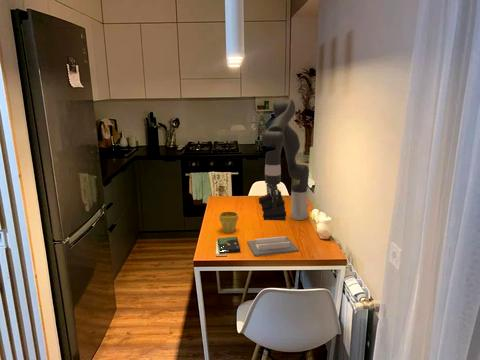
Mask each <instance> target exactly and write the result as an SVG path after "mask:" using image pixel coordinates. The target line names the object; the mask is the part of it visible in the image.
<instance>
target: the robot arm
mask: <svg viewBox="0 0 480 360" xmlns="http://www.w3.org/2000/svg"><path fill="white" fill-rule="evenodd" d="M272 108H273V114H274V117H275V118H274V119H273V120H272V121H271V124H270V126H269V127H268V128H267V129H265V130H264V131H263V133H262V136H261V138H260V139H261V144H262V145H263V146H265V147H272V148H273V147H275V149H274V150H270V151H266V153H265V165H264V183H265V185H266V186H265V187H266V195H267V194H269V193H270V197H271V198H272V209H276V208H277V201H278V200H279V191H280V189H279V188H278V185H279V184H281V182H282V181H281V178H282V177H281V176H282V171H281V170H282V169H281V154H282V149H283V150H284V153H285V154H284V155H285V158H286V163H287V169H288V175H289V177H290V178H291V179H293V180H299V183H296V184H293V185H292V186H291V193H290V194H291V195H290V197H291V198H290V199H291V201H290V205H291V206H290V218H291V220H295V221H303V220H307V219H308V209H309V206H308V205H309V204H308V201H307V200H308V197H307V196H308V186H309V175H310V169H309V166H308V165H307V164H301V163H297V161H296V157H297V154H298V153H299V151H300V148H301V142H300V139H299V135H298V134H297V132H296V131H295V130H294V129H293V128H292V127H291V126H290V125H289V124H288V123H289V122H290V121H291V119H293V118H294V115H295V114H296V105H295V101H294V100H293V99H291V98H289V99H288V98H287V99H282V100H280V99H279V100H275V101H274V102H273V104H272ZM278 189H279V190H278Z"/></svg>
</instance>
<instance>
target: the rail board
mask: <svg viewBox="0 0 480 360" xmlns="http://www.w3.org/2000/svg"><path fill="white" fill-rule="evenodd" d="M246 243H247V245H248V247H249V249H250V250H251V252H252V254H253V256H254V257H263V256H270V255H282V254H289V253H299V248H298V247H297V245H295V244H294V242H293V241H292V240H291V239H290V238H289V237H288V236H285V235H284V236H274V237H264V238H263V237H262V238H255V239H254V240H247V242H246Z"/></svg>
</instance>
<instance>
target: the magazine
mask: <svg viewBox="0 0 480 360" xmlns="http://www.w3.org/2000/svg"><path fill="white" fill-rule="evenodd" d="M278 190H279V200H278V201H277V208H276V209H272V198H271V197H270V193H269V194H267V193H266V194H265V195H262V196H261V197H258V204H259V205H261V211H262V212H263V213H262V218H263V221H283V222H284V221H286V220H287V219H286V218H287V211H286V206H285V204H286V202H285V200H284V198H283V196H282V191H281V190H280V189H279V188H278Z"/></svg>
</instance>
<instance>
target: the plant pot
mask: <svg viewBox="0 0 480 360" xmlns="http://www.w3.org/2000/svg"><path fill="white" fill-rule="evenodd" d="M218 216H219V221H220V223H221V227H222V231H223V233H227V234H228V233H229V234H230V233H233V232H235V231H236V227H237V222H238V221H239V213H238V212H236V211H233V210H232V211H231V210H227V211H222V212H220V213H219V215H218Z"/></svg>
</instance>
